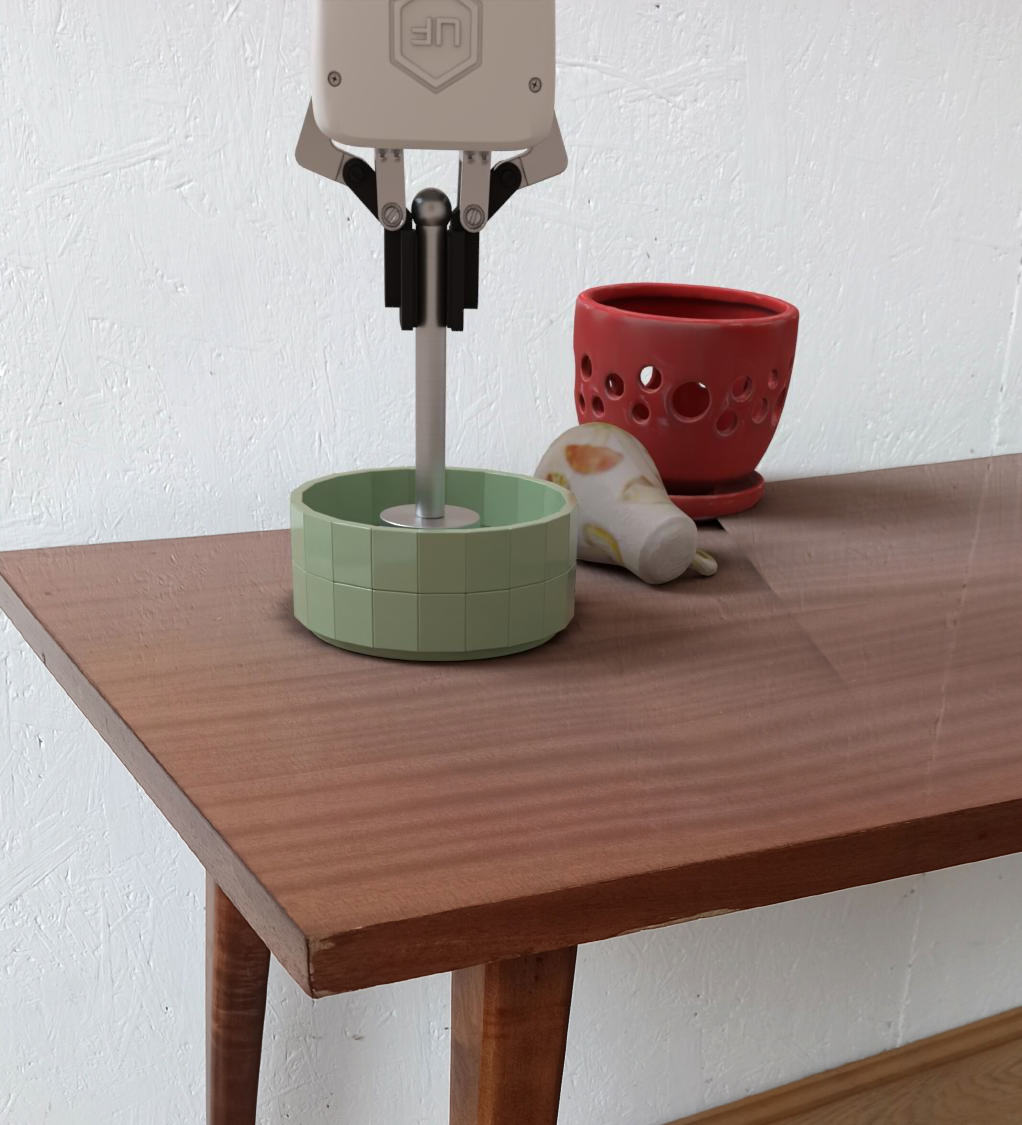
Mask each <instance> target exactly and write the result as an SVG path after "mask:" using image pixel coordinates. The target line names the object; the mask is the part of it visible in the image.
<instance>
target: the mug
mask: <svg viewBox="0 0 1022 1125" xmlns="http://www.w3.org/2000/svg"><path fill="white" fill-rule="evenodd" d="M532 477H535V478H539V479H542V480H546V481H550V482H553V483H556V484H558V485H560V486H562V487H563V488H565V489H567V490H569V491H571V492H573V493H574V495H575V497H576V499H577V501H578V503H579V510H578V534H577V558H576V560H581V561H584V562H585V561H586V562H590V563H599V564H606V565H613V566H620V567H623V568H624V569H627V570H628V571H630V572H631V573H633V574H634V575H636V576H637V577H638V578H639V579H641V580H643V581H644V582H645V583H647V584H650V585H662V584H666V583H668V582H671V581H673V580H675V579H677V578H679V577H680V576H681V575H682V574H683V573H684V572H685V571H686V570H687V569H688V568H689V570H693V571H695V572H697V573H698V574H699V575H702V576H713V575H715V574H716V572H717V570H718V563H717V561H716V560H715V558H714V557H712V556H711V555H709V554H708V553H707V552H705V551H703V550H701V549H700V548H698V544H699V532H698V529H697V525H696V522H694V521H693V520H692V519H691V518H690V517H689V516H688V515H686V514H685V513H684V512H683V511H681V510H680V509H679V508H678V507H677V506H676V505H675V504H674V503H673V502H672V501H671V500H670V498H669V497H668V494H667V492H666V490H665V487H664V485H663V483H662V480H661V477H660V475H659V472H658V470H657V468H656V466H655V464H654V462H653V460H652V458H651V456H650V454H649V453H648V451H647V450H646V449H645V447H644V446H643V445H642V444H641V443H640V442H639V441H638V440H637V439H636V438H635V437H634V436H633V435H631V434H630V433H628V432H627V431H625V430H623V429H621V428H619V427H617V426H614V425H611V424H607V423H601V422H592V423H586V424H581V425H579V424H577V425H575V426H573V427H569V428H568V429H566V430H565V431H564V432H562V433H561V434H560V435H558V436H557V437H556V438H555V439H554V440H553V441H552V442H551V443H550V444H549V446H548V448H547V449H546V451H545V453H544V454H543V455H542V457H541V459H540V460H539V462H538V465H537V466H536V468H535V471H534V473H533V476H532Z"/></svg>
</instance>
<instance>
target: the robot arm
mask: <svg viewBox="0 0 1022 1125" xmlns="http://www.w3.org/2000/svg"><path fill="white" fill-rule="evenodd" d="M556 24H557V23H556V0H310V49H309V50H310V51H309V52H310V53H309V54H310V61H309V62H310V64H309V65H310V90H311V93H310V94H311V95H310V99H309V102H308V106H307V108H306V113H305V116H304V118H303V119H304V120H303V122H302V125H301V129H300V132H299V133H300V134H299V136H298V140H297V142H296V146H295V149H294V150H295V151H294V158H295V161H296V163H297V164H298V166H300V167H302V168H303V169H305V170H308V171H310V172H312V173H314V174H317V175H320V176H322V177H324V178H326V179H329V180H331V181H333V182H336V183H339V184H341V185H343V186H345V187H348V188H349V190H350V191H351V192H352V193H353V194H354V195H355V196H356V197H357V199H358V200H359V201H360V202H361V203H362V204H363V205H364V207H365V208H366V209H367V210H368V211H369V212H370V214H371V215H373V216H374V218H375V219H376V220H377V222H378V223H379V224H380V225H381V226H382V227H383V285H384V286H383V290H384V294H383V295H384V296H383V297H384V300H383V301H384V308H389V309H391V308H392V309H393V308H394V309H395V308H396V309H398V311H399V312H398V314H399V319H398V320H399V326H400V330H401V331H410V332H411V331H414V328H417V327H418V235H417V232H416V228H413V219H412V214H411V210H409V208H408V207H407V201H406V200H407V199H406V180H405V179H406V178H405V177H406V176H405V153H404V152H405V151H404V150H426V151H458V160H457V161H458V162H457V182H456V185H457V186H456V202H455V203H456V204H455V205H456V206H455V208H453V209H452V215H451V219H450V222H449V224H448V228H447V271H446V329H450V331H451V332H464V329H465V328H464V326H465V325H464V324H465V310H478V309H479V296H480V295H479V291H480V289H479V288H480V232H481V231H482V230H483V229H485V227H486V226H487V224H488V222H489V221H490V220H491V219H492V218H493V216H494V215H495V214H496V213H498V211H499V210H500V209H501V208H502V207H503V206H504V205H505V204H506V203H507V201H509V199H511V198H512V196H514V194H515V193H516V192H517V191H518V190H522V189H524V188H526V187H530V186H533V185H536V184H538V183H540V182H544V181H546V180H548V179H551V178H554V177H557V176H558V175H561V174H562V173H564V172H565V171H566V169H567V168H568V164H569V158H568V152H567V150H566V146H565V143H564V139H563V136H562V133H561V132H562V131H561V128H560V125H559V121H558V117H557V114H556V110H555V104H556V103H555V101H556V77H557V76H556V72H557V71H556V67H557V66H556V64H557V62H556V61H557V60H556V58H557V57H556V54H557V53H556V50H557V49H556V48H557V46H556V44H557V43H556V42H557V40H556V39H557V38H556V36H557V33H556V32H557V31H556V28H557V27H556V26H557V25H556ZM333 141H334V142H336V143H339V144H342V145H345V146H349V147H354V148H355V147H357V148H368V149H373V162H374V168H372V167H371V165H370V164H369V163H368V162H367V161H366V160H365V159H364V158H363V157H361V156H358V155H355V154H354V153H351V152H349V151H347V150H345V149H343V148H341V147H338V146H337V145H335V143H334V142H333ZM523 150H524V151H523ZM517 151H523V152H521V153H518V154H516V155H514V156H511V157H508V158H506V159H501V160H499V161H497V162H496V163H495V164H494V165H493V166H492V152H517Z"/></svg>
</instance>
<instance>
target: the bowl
mask: <svg viewBox="0 0 1022 1125" xmlns="http://www.w3.org/2000/svg"><path fill="white" fill-rule="evenodd" d="M409 504H415V465H410V466H409V465H406V466H405V465H403V466H390V467H375V468H374V467H373V468H363V469H356V470H349V471H343V472H337V473H332V474H327V475H324V476H321V477H317V478H313V479H311V480H307V481H305V482H303V483H302V484H300V485H299V486H297V487H296V488H294V489H293V490H291V491H290V493H289V523H290V544H291V547H290V548H291V570H292V593H293V595H292V596H293V613H294V614H293V616H294V618H295V619H296V620H298V622H300V623H301V625H302V626H304V627H305V628H306V629H307V630H309V631H311V633H313V634H314V635H315V636H316V637H317V638H319V639H320V640H322V641H323V642H325V643H328V644H330V645H332V646H334V647H337V648H340V649H343V650H347V651H350V652H354V653H358V654H361V655H367V656H372V657H379V658H386V659H392V660H393V659H394V660H403V661H404V660H405V661H416V662H417V661H420V662H452V661H453V662H456V661H457V662H461V661H475V660H483V659H490V658H498V657H503V656H509V655H513V654H518V653H522V652H525V651H528V650H531V649H534V648H536V647H539V646H541V645H543V644H545V643H547V642H548V641H550V640H551V639H552V638H554V637H555V636H556V635H557V634H558V633H559V632H561V631H563V630H565V629H566V628H567V627H568V625H569V624H570V623H571V621H572V619H574V616H575V607H576V606H575V601H576V580H577V579H576V578H577V534H578V510H579V503H578V501H577V499H576V497H575V495H574V493H573V492H571V491H569V490H567V489H565V488H563V487H562V486H560V485H558V484H556V483H553V482H550V481H546V480H542V479H539V478H535V477H533V476H531V475H527V474H522V473H515V472H510V471H509V472H508V471H502V470H495V469H488V468H478V467H476V468H475V467H463V466H462V467H461V466H451V465H449V466H446V465H445V505H452V506H458V507H463V508H467V509H470V510H472V511H475V512H476V513H478V514H479V516H480V528H475V529H408V528H395V527H383V526H380V514H381V512H382V511H384V510H386V509H389V508H392V507H396V506H401V505H409Z"/></svg>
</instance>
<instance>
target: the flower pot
mask: <svg viewBox="0 0 1022 1125" xmlns="http://www.w3.org/2000/svg"><path fill="white" fill-rule="evenodd" d="M573 317H574V318H573V332H572V334H573V335H572V336H573V337H572V349H573V355H574V356H573V357H574V387H573V388H574V389H573V396H574V397H573V399H574V405H575V406H574V407H575V412H576V417H577V422H578V425H581V424H586V423H592V422H601V423H607V424H611V425H614V426H617V427H619V428H621V429H623V430H625V431H627V432H628V433H630V434H631V435H633V436H634V437H635V438H636V439H637V440H638V441H639V442H640V443H641V444H642V445H643V446H644V447H645V449H646V450H647V451H648V453H649V454H650V456H651V458H652V460H653V462H654V464H655V466H656V468H657V470H658V472H659V475H660V477H661V480H662V483H663V485H664V487H665V490H666V492H667V494H668V497H669V498H670V500H671V501H672V502H673V503H674V504H675V505H676V506H677V507H678V508H679V509H680V510H681V511H683V512H684V513H685V514H686V515H688V516H689V517H690V518H691V519H692V520H693V521H694V523H703V522H711V521H718V518H717V517H719V516H720V517H721V516H728V515H733V514H738V513H740V512H744V511H747V510H749V509H751V508H752V507H753V506H754V505H755V504H756V503H758V501H759V500H760V499H761V497H762V496H763V494H764V492H765V488H766V481H765V478H764V476H763V475H762V474H761V473H760V472H758V471H757V470H756V469H757V467H758V466H759V464H760V463H761V461H762V460H763V458H764V456H765V454H766V453H767V451H768V449H769V447H770V445H771V442H772V441H773V439H774V437H775V434H776V431H777V429H778V426H779V423H780V420H781V417H782V415H783V411H784V408H785V404H786V400H787V398H788V393H789V388H790V384H791V380H792V374H793V369H794V365H795V358H796V350H797V343H798V336H799V334H798V333H799V326H800V325H799V324H800V311H799V309H798V307H797V306H796V305H794V304H792V303H790V302H788V301H786V300H783V299H781V298H777V297H775V296H772V295H768V294H763V293H759V292H754V291H749V290H742V289H738V288H737V289H735V288H729V287H723V286H713V285H711V286H710V285H703V284H689V283H673V282H651V281H650V282H648V281H645V282H643V281H642V282H624V283H613V284H605V285H598V286H594V287H590V288H588V289H584V290H583V291H581V292H579V293H578V295H577V297H576V300H575V307H574V316H573ZM650 367H651V368H652V371H651V376H650V378H649V380H648V382H647V383H646V384H644V381H643V380H642V372H643V370H645V369H646V368H650Z"/></svg>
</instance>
